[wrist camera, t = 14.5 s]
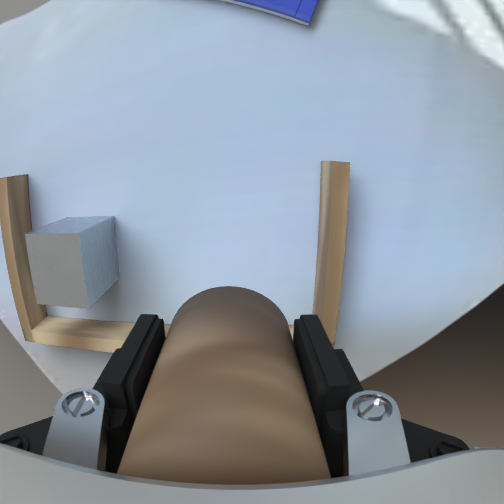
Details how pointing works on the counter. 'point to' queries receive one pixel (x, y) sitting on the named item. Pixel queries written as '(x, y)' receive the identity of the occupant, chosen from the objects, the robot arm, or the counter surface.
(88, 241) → the block
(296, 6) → the hard drive
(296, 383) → the cylinder
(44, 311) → the corral
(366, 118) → the counter surface
